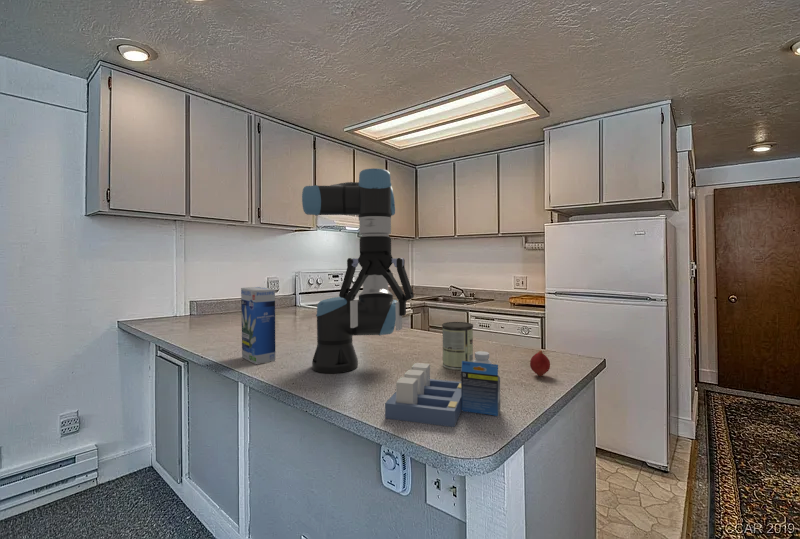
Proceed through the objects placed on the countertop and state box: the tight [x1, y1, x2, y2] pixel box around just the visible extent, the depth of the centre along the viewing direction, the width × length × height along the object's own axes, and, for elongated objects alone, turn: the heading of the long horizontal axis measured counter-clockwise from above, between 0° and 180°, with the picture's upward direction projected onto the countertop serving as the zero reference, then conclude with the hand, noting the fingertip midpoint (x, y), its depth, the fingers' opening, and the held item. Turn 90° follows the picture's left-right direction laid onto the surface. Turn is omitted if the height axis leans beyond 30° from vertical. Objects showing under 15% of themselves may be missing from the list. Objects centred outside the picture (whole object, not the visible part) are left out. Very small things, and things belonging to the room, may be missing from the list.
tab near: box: [395, 376, 418, 405], centre depth 92 cm, size 4×4×6 cm
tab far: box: [411, 362, 431, 386], centre depth 105 cm, size 4×4×6 cm
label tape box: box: [460, 361, 501, 417], centre depth 94 cm, size 9×4×12 cm, turn 68°
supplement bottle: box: [473, 350, 493, 371], centre depth 111 cm, size 5×5×10 cm
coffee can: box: [441, 321, 474, 371], centre depth 132 cm, size 10×10×14 cm
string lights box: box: [240, 286, 276, 365], centre depth 142 cm, size 13×8×26 cm, turn 43°
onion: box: [529, 350, 551, 377], centre depth 121 cm, size 6×6×8 cm
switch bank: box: [384, 378, 462, 428], centre depth 97 cm, size 16×20×4 cm
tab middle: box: [403, 369, 424, 395], centre depth 98 cm, size 4×4×6 cm
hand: (376, 328), depth 94 cm, fingers open, 11 cm apart
